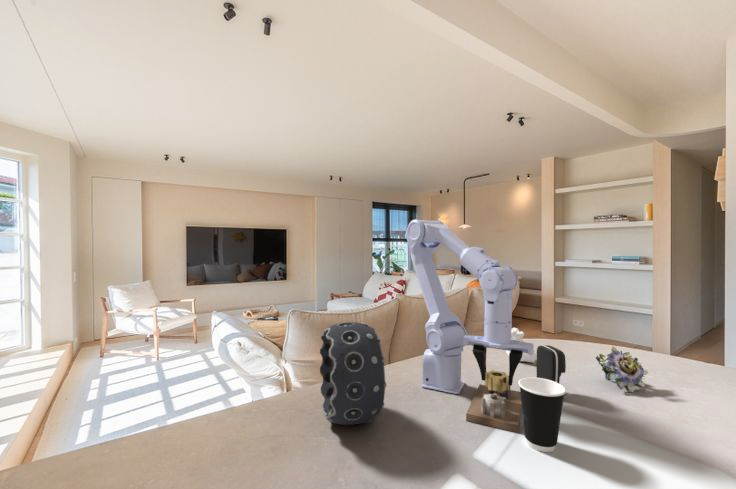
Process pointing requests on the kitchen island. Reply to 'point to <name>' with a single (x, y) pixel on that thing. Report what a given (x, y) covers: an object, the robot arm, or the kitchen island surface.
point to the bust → (518, 336)
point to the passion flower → (622, 369)
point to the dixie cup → (541, 411)
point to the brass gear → (496, 381)
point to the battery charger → (550, 363)
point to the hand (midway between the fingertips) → (496, 381)
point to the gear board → (497, 420)
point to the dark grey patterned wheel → (352, 373)
